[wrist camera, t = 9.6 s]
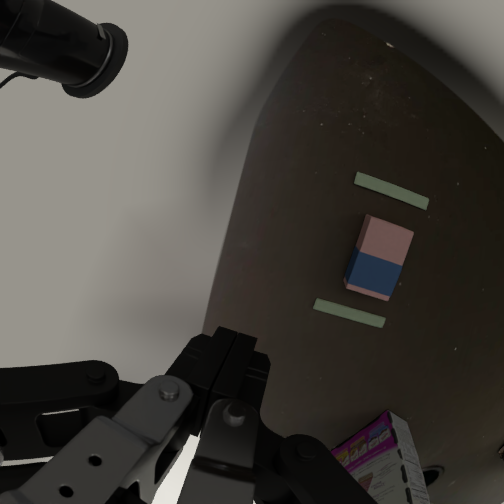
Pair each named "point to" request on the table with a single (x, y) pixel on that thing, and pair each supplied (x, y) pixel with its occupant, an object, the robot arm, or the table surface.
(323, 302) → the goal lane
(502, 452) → the radio
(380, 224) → the eraser
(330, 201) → the table surface
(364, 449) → the candy bar box
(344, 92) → the table surface
